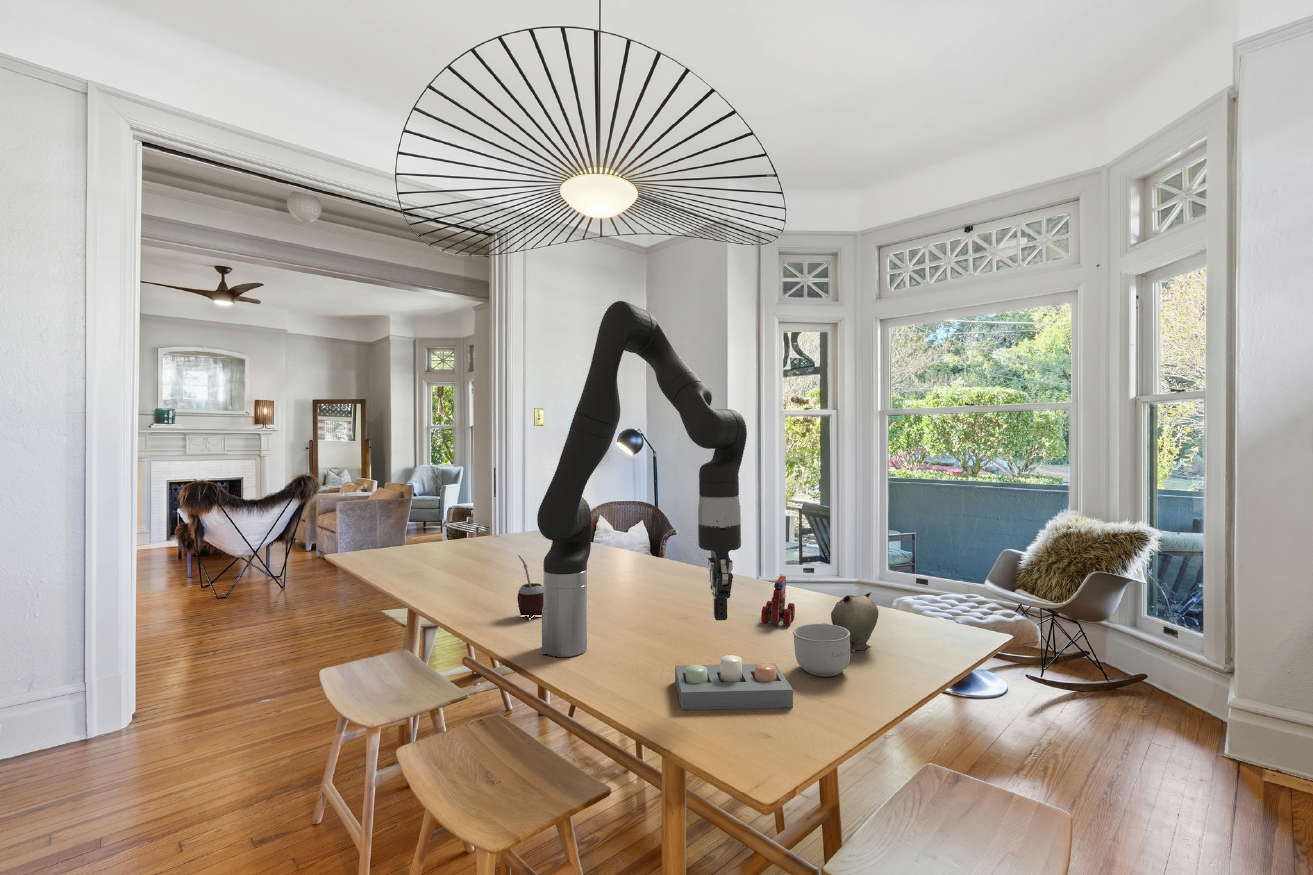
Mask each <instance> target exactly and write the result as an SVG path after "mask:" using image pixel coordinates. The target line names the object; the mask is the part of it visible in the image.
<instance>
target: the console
mask: <svg viewBox="0 0 1313 875" xmlns="http://www.w3.org/2000/svg"><path fill="white" fill-rule="evenodd" d="M757 664H758V663H742V682H720V664H701V665H702V666H705V667H706V668H707V683H686V667H688V666H690V665H691V664H688V665H687V664H686V665H685V664H683V665H682V664H681V665H680V664H679V665H674V671H675V672H674V681H675V687H676V691H677V696H678V701H679V705H680V710H681V711H696V710H697V711H701V710H702V711H703V710H704V711H705V710H741V709H743V710H744V709H775V708H780V709H781V708H793V707H794V689H793V687H792V686H791V685H790V683H789V681H788V680H787V678H786V677H785V675H784V674H783V673H782V671H781V669H780V668H779V666H778V665H777V664H776V663H771V664H772V665H774V666H775V667H776V681H764V682H756V681H755V665H757Z"/></svg>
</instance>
